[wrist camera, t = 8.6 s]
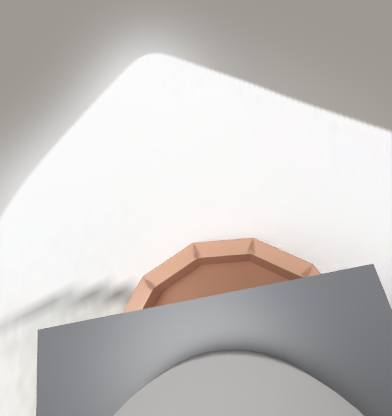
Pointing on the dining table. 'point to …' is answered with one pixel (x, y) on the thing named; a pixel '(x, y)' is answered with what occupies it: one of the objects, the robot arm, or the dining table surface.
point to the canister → (229, 354)
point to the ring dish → (216, 272)
